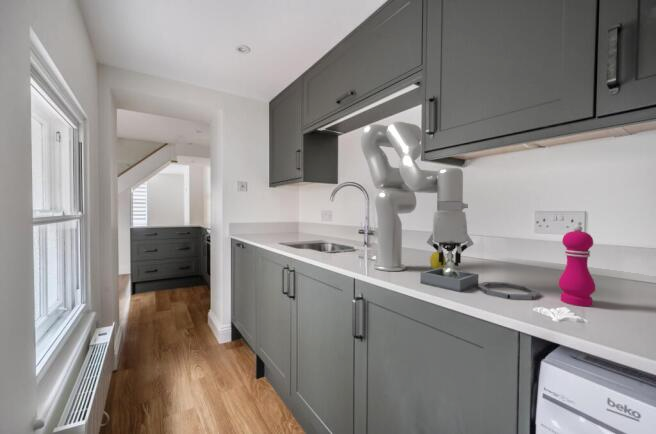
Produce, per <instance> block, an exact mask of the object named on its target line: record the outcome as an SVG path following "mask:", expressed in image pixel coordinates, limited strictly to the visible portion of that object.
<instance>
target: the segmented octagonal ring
mask: <svg viewBox="0 0 656 434" xmlns="http://www.w3.org/2000/svg"><path fill="white" fill-rule="evenodd" d="M489 287H497V288H498V287H501V288H503V287H506V288H511V289H516V290H521V291H524V292H527V293H523V294H522V293H506V292H503V291H496V290H492V289H489ZM476 289H477V290H478V291H480V292H481V293H482V294H485V295H488V296H493V297H497V298H502V299H506V300H508V299H509V300H519V301H520V300H525V301H526V300H527V301H532V300H533V301H534V300H536V298H539V297H540V296H541V292H540V291H539V290H537V289H535V288H533V287H531V286H527V285H523V284H517V283H511V282H505V281H504V282H503V281H484V282H481V283H478V285H477V286H476Z"/></svg>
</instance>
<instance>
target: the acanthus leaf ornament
mask: <svg viewBox="0 0 656 434" xmlns="http://www.w3.org/2000/svg"><path fill="white" fill-rule="evenodd" d="M532 310H533V312H536V313H539V314H542V315H544V316H548V317H551V320H552V321H553V322H557V323H561V322H562V321H569V322H575V323H585V324H590V321H589V320H587V319H585V318H583V317H581V316H578V315H576V314H575V313H574V312H572V311H571V310H570V309H569V308H568V307H566V306H565V307H564V306H562V307H557V308H550V309H549V308H546V307H543V306H541V307H533V308H532Z"/></svg>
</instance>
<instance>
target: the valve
mask: <svg viewBox="0 0 656 434" xmlns="http://www.w3.org/2000/svg"><path fill="white" fill-rule="evenodd" d="M441 245H443V248H442V249H443V250H446V251H448V253H447V254H446V258H447V259H448V260H446V262H445V267H444V269H443V275H444V276H445V277H451V278H456V279H459V273H458V272H457V271H458V270H457V269H456V268H455V267H457V266H456V263H455V260H453V259H454V254H453V253H452V252H453V251H454V250H455V249H457V247H456V245H457V246H460V243H438V246H441ZM451 272H453V273H452V275H450V276H449V274H450V273H451Z"/></svg>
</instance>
